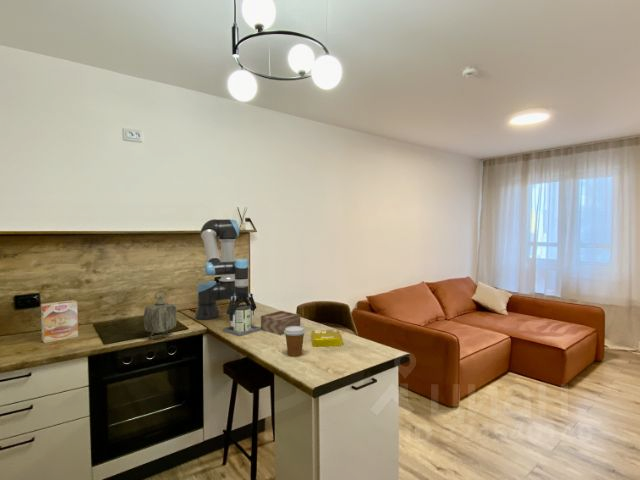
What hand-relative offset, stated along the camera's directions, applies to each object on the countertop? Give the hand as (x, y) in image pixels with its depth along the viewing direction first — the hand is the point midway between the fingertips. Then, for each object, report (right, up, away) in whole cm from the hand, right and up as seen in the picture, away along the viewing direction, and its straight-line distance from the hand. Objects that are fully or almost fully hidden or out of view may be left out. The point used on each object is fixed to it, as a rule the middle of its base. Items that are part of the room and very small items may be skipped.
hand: (242, 323), depth 201 cm
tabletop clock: (-41, -5, -11) cm, 43 cm away
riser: (+22, -4, +3) cm, 22 cm away
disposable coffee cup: (+33, -5, -38) cm, 51 cm away
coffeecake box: (-95, -5, -12) cm, 96 cm away
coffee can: (0, -4, 0) cm, 4 cm away
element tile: (+48, -5, -21) cm, 52 cm away
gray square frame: (0, -4, 0) cm, 4 cm away
